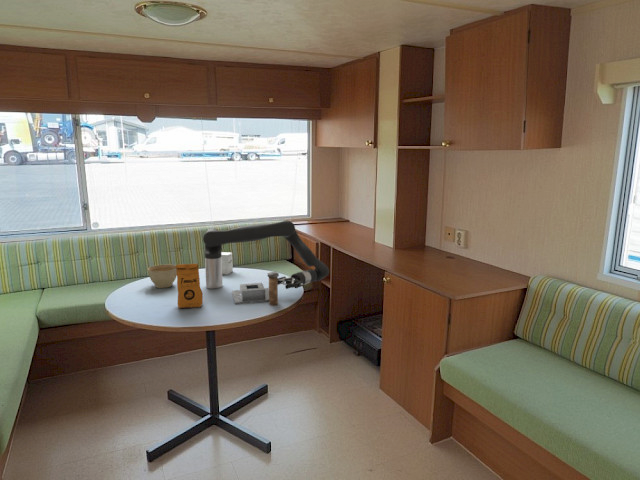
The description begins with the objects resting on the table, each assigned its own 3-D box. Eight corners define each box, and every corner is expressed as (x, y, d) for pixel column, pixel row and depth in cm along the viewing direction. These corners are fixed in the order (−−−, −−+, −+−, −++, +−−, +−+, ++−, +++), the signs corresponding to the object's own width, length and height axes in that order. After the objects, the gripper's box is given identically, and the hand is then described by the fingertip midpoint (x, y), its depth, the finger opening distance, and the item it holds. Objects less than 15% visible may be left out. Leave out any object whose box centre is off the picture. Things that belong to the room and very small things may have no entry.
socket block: (235, 304, 232) (234, 294, 231) (232, 292, 251) (231, 282, 250) (274, 301, 237) (273, 291, 236) (268, 289, 256) (268, 280, 255)
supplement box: (228, 274, 286) (228, 255, 284) (217, 273, 288) (216, 254, 285) (233, 271, 293) (232, 252, 291) (222, 270, 295) (221, 251, 292)
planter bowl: (177, 289, 257) (176, 270, 254) (147, 291, 253) (146, 272, 251) (179, 281, 272) (178, 263, 270) (150, 282, 268) (149, 264, 266)
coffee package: (202, 308, 225) (200, 265, 221) (176, 310, 223) (173, 266, 219) (204, 302, 235) (202, 260, 231) (179, 303, 233) (176, 261, 229)
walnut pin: (268, 306, 230) (268, 275, 227) (267, 302, 235) (266, 272, 232) (279, 305, 231) (279, 274, 228) (277, 301, 236) (277, 271, 233)
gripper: (291, 269, 251) (270, 275, 239) (311, 274, 242) (290, 280, 230) (291, 282, 253) (270, 289, 240) (310, 287, 244) (290, 295, 232)
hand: (280, 285), depth 235 cm, fingers open, 8 cm apart
